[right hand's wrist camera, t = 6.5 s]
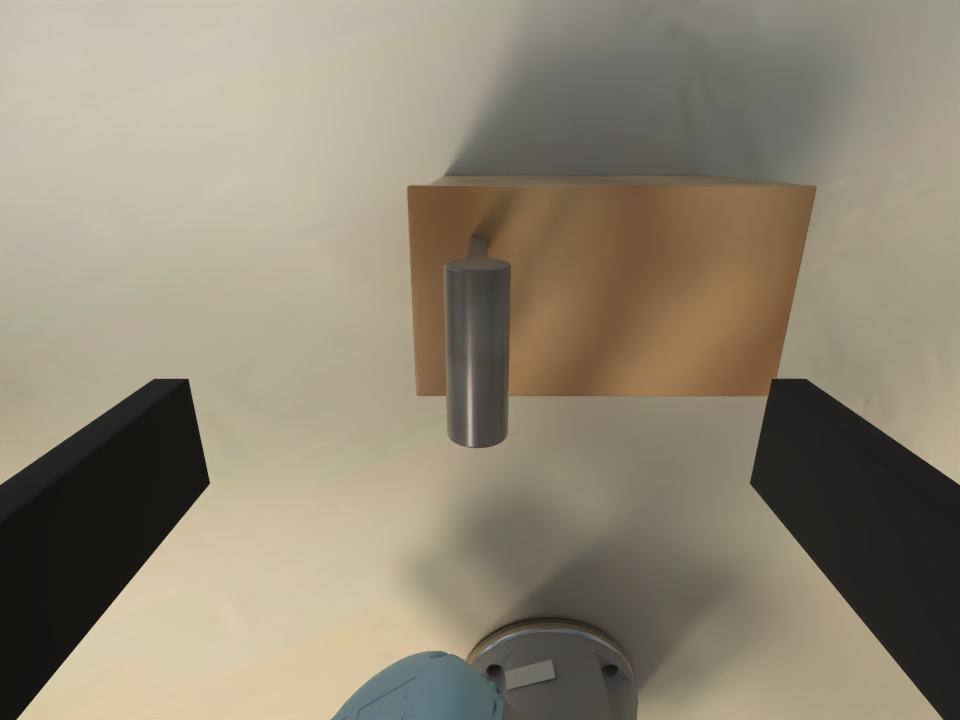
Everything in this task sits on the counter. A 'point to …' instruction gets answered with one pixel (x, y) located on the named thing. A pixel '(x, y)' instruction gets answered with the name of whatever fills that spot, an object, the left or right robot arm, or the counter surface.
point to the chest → (596, 180)
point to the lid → (598, 292)
